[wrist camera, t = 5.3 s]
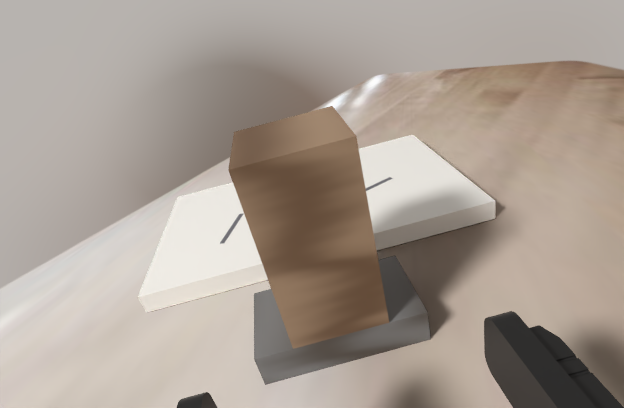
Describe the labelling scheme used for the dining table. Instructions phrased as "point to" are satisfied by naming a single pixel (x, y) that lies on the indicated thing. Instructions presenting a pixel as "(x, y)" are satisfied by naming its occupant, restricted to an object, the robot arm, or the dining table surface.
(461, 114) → the dining table surface
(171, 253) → the board
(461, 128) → the dining table surface
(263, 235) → the block
